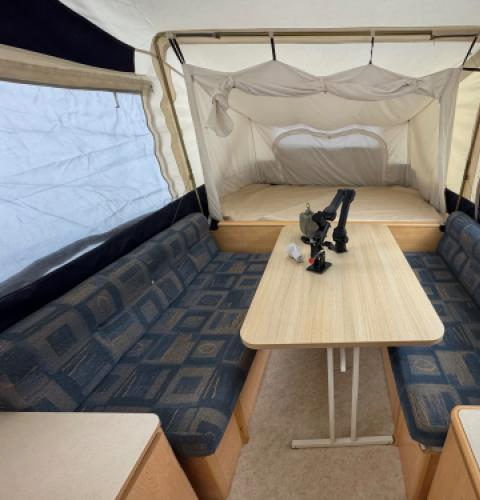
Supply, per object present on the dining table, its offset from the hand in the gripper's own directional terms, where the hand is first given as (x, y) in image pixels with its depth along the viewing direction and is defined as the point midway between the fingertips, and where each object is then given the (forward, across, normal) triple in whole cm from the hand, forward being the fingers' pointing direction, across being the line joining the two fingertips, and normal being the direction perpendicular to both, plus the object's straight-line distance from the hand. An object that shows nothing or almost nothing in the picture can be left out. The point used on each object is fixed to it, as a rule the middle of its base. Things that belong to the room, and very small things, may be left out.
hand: (311, 257), depth 137 cm
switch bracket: (+1, 0, +12) cm, 12 cm away
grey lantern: (-22, -29, +36) cm, 51 cm away
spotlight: (0, -18, +14) cm, 23 cm away
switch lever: (-1, 0, +5) cm, 5 cm away
